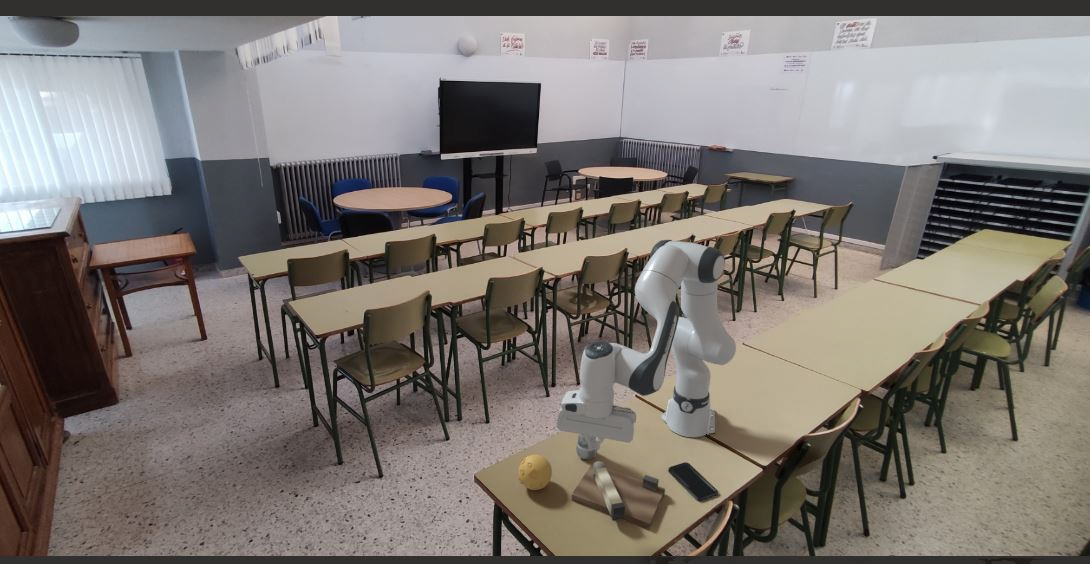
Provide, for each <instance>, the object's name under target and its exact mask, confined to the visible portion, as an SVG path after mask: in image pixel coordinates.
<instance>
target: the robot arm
mask: <svg viewBox="0 0 1090 564" xmlns="http://www.w3.org/2000/svg"><path fill="white" fill-rule="evenodd" d="M725 260H726V259H725V256H724V254H723V252H722V251H721V250H720V249H717V248H715V247H713V246H705V245H702V244H700V243H697V242H687V241H679V240H672V239H662V240H660V241H659V240H658V242H657V243H656V244H654V245H653V247H652V248H651V250H650V255H649V260H648V261H647V263H646V264H645V266H644V267H643V270H642V271H641V272H640V275H639V277H638V278H637V280H636V283H635V287H634V294H635V297H636V300H637V302H638V303H639V305H640V306H641V308H643V309H644V310H645V311H646V312H647V313H648V314H649V315H651V316H652V317H653V318H654V319H655V320H656V322H657V326H656V329H655V332H654V333H655V334H654V336H653V340H652V343H651V347H650V349H649V351H648V352H646V353H643V352H640V351H637V350H636V349H632V348H630V347H628V346H625V345H622V344H619V343H616V342H607V341H604V340H597V341H593V342H590V343H588V344H586V346H585V348H584V350H583V352H582V356H581V361H580V371H579V379H580V384H581V385H580V388H579V389H575V390H569V391H566V393H565V395H563V397H562V400H561V404H560V408H559V411H558V413H557V416H556V417H557V418H556V428H557V429H558V431H561V432H566V433H572V434H577V435H579V434H583V435H584V438H585V439H586V441H587V443H588V448H590V449H596V450H597V451H599V450H600V446H601V444H602V443H603V442H604V440H606V439H607V440H612V441H617V442H622V443H631V442H632V441H633V440H634V435H635V423H636V422H637V414H636V413H637V412H636V411H634V410H632V408H630V407H622V406H619V405H615V404H614V399H615V390H614V384H619V385H620V386H623V387H625V388H628V389H629V390H631V391H633V392H635V393H636V394H638V395H640V396H642V397H646V396H649V395H651V394H654V393H657V392H658V391H659V390H661V388H662V385H663V384H664V379H665V376H666V368H667V364H668V360H669V356H670V352H671V353H672V355H673V358H674V362H675V368H676V375H675V376H676V377H675V386H674V387H673V391H672V396H671V398H669V399H668V402H667V406H666V407H667V408H666V411H664V413H662V414H661V416H660V420H661V421H662V422H664V421H665V422H666V423H667V424H666V423H665V422H664V423H665V424H666V425H667V428H669V430H671V431H672V432H673V433H675V434H677V435H679V436H683V437H686V438H687V437H688V438H700V437H703V436H707V435H709V434H708V433H714V432H715V433H716V411H715V410H716V409H715V410H712V409H714V407H712V408H711V409H710V407H711V399H710V397H711V396H710V383H711V371H710V368H709V367H708V365H707V364H706V363H710V364H714V365H719V366H724V365H727V364H728V363H730V362H731V361H732V360H733V358H734V357H735V355H736V351H737V347H736V346H737V344H736V340H735V339H734V338H733V337H732V336H731V334H729V332H728V331H727V329H726V328H725V326H724V324H723V322H722V320H721V318H720V317H721V316H720V315H719V314H720V313H719V309H718V281H719V279H720V278H721V277H722V275H723V273H724V271H725V270H724V269H725V265H726V261H725ZM679 288H680V306H679V304H678V303H677V302H676V297H677V293H678V291H679ZM680 309H681V311H682V314H683V315H684V316H685V317H683V316H680ZM705 362H706V363H705ZM714 411H715V412H714ZM711 415H713V416H711ZM711 428H713V429H711ZM706 434H707V435H706ZM590 436H594V437H596V438H597V439H596V440H592V439H591V437H590Z"/></svg>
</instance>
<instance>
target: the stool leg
mask: <svg viewBox="0 0 1090 564" xmlns="http://www.w3.org/2000/svg"><path fill="white" fill-rule="evenodd" d="M593 464H594V469H593V477H594V478H595V481H596V483H597V485H598V487H599V490H600V492H601V494H602V496H603V499H604V501H605V503H606V505H607V508H608V510H609V512H610V514H611V515H610V514H609V515H610V518H611V521H613V522H615V521H620V520H623V519H624V514H625V505H624V503H623V502H622V500H621V498H620V496H619V494H618V492H617V490H616V488H615V486H614V484H613V482H612V480H611V478H610V476H609V474H608V472H607V470H606V468H607V467H605V466H606V465H605V463H604V462H603V461H595V462H594V463H593Z"/></svg>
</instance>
